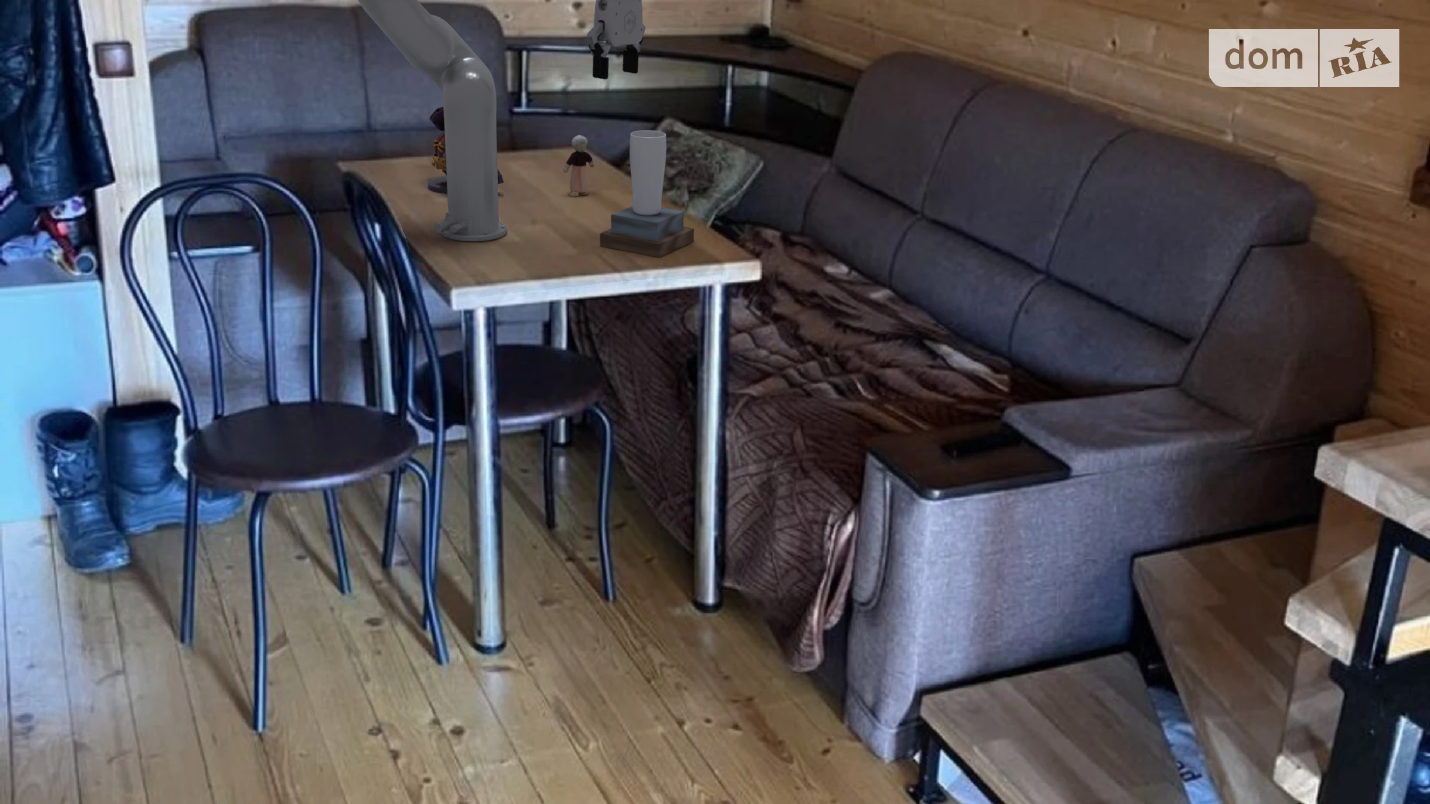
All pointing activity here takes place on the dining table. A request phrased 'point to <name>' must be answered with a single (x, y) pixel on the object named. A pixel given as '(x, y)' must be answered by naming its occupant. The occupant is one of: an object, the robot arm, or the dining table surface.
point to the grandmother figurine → (578, 167)
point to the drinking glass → (647, 170)
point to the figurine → (442, 155)
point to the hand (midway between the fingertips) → (615, 75)
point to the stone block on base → (647, 232)
